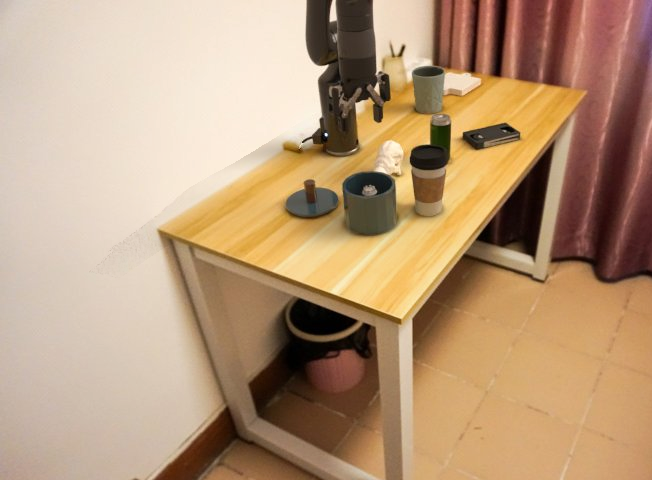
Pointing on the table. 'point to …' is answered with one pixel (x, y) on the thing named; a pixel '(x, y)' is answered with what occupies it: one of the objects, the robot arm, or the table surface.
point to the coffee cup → (428, 177)
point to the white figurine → (389, 158)
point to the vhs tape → (491, 136)
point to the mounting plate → (459, 83)
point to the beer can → (441, 131)
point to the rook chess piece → (369, 191)
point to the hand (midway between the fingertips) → (361, 127)
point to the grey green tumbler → (428, 88)
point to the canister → (370, 203)
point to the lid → (311, 200)
